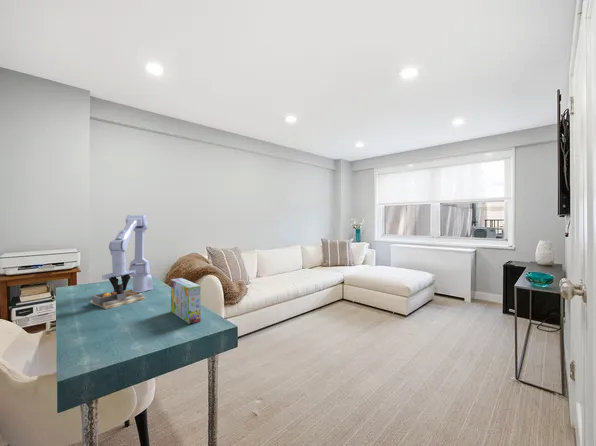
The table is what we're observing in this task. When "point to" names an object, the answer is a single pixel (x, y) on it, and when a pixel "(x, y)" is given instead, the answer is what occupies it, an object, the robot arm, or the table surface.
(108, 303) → the beige grooved board
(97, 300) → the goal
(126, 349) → the table surface
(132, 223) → the robot arm
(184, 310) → the snack box
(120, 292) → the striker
